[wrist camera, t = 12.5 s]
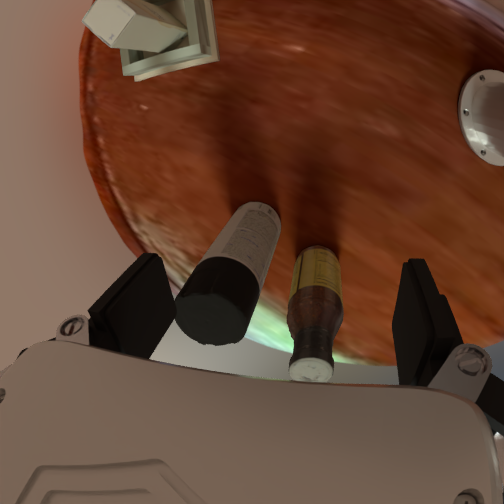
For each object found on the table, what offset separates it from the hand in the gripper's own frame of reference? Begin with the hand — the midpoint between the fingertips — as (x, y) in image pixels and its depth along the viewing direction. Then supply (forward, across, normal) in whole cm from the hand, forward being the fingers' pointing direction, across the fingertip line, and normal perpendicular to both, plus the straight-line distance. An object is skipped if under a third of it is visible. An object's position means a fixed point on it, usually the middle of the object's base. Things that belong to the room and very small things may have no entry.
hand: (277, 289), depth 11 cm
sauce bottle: (+28, 0, +16) cm, 32 cm away
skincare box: (+27, +17, -18) cm, 37 cm away
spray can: (+28, +8, +10) cm, 31 cm away
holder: (+28, +16, -18) cm, 37 cm away
